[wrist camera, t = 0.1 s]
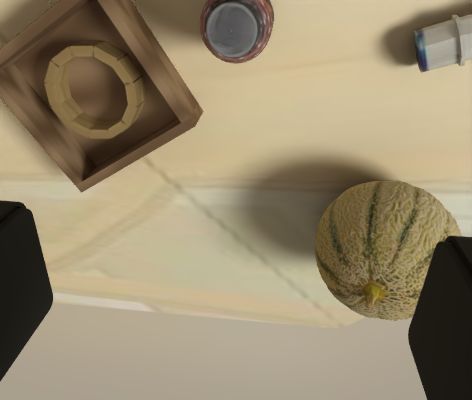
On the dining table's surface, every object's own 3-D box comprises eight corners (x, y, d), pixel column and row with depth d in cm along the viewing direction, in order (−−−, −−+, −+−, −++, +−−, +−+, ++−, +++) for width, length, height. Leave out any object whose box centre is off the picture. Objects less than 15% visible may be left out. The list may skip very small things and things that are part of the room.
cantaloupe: (459, 222, 50) (520, 312, 37) (355, 278, 56) (376, 373, 43) (393, 132, 45) (436, 199, 32) (286, 203, 51) (287, 285, 38)
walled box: (5, 59, 46) (-24, 69, 42) (113, -28, 41) (92, -27, 36) (98, 173, 52) (81, 192, 48) (203, 111, 47) (194, 126, 42)
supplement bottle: (274, 46, 42) (271, 70, 33) (217, 49, 43) (197, 74, 33) (273, -20, 39) (269, -15, 30) (211, -16, 40) (187, -9, 30)
